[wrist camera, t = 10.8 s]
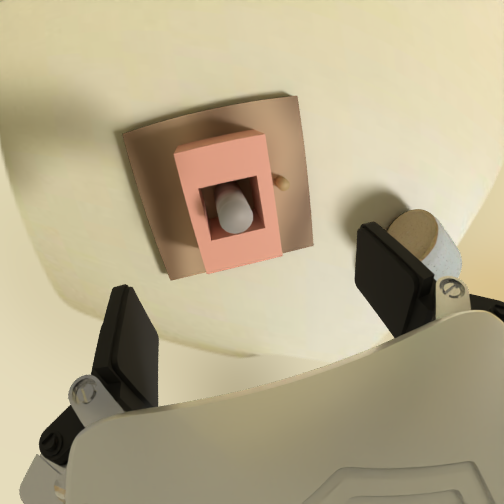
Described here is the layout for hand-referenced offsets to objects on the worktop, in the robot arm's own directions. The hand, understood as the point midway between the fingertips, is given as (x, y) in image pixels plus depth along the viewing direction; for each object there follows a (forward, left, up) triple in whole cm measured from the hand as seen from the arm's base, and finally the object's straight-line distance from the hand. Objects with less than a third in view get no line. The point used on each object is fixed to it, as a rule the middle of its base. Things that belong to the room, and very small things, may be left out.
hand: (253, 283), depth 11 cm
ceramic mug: (+19, -12, -15) cm, 27 cm away
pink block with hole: (0, -1, -13) cm, 13 cm away
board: (0, -1, -14) cm, 14 cm away
